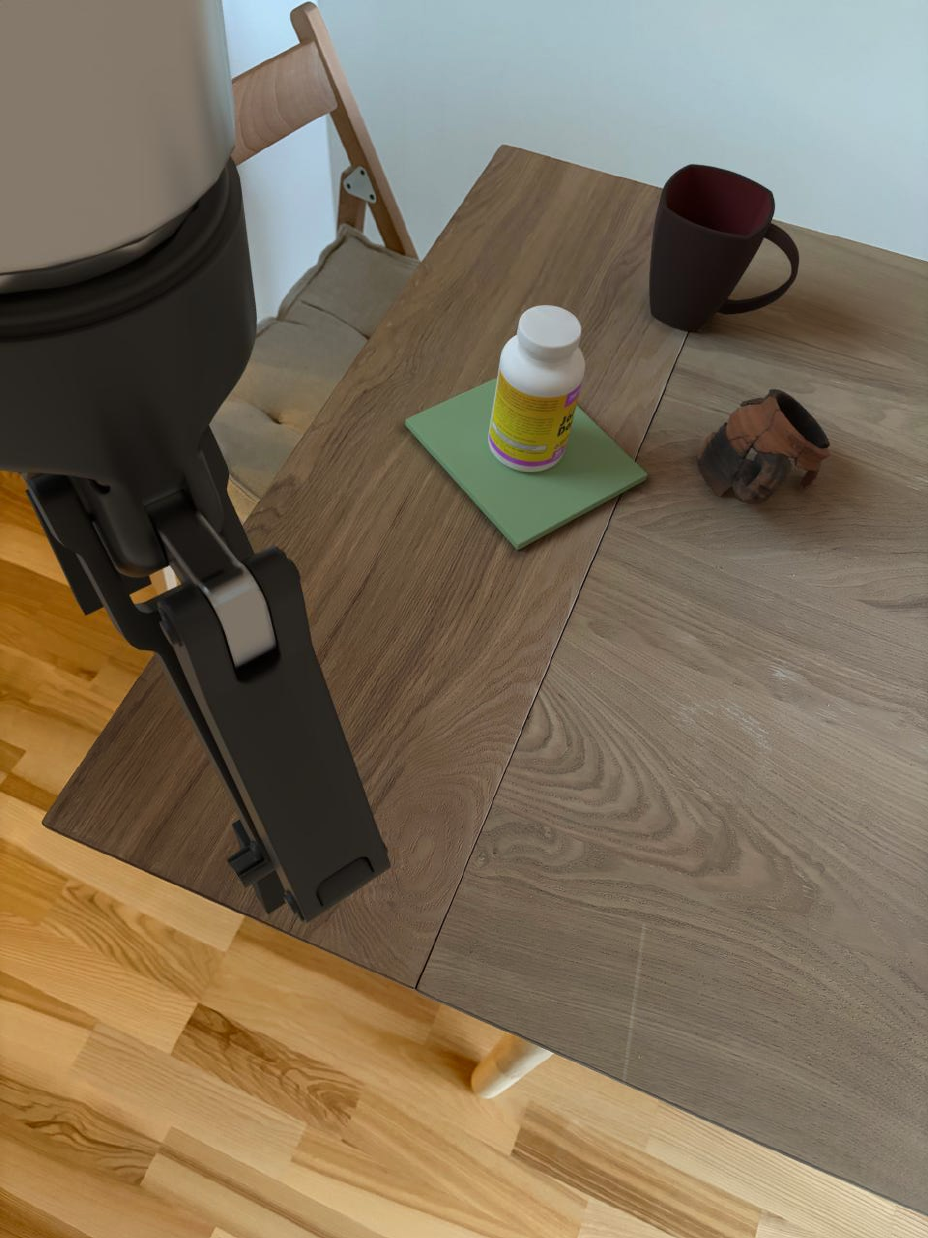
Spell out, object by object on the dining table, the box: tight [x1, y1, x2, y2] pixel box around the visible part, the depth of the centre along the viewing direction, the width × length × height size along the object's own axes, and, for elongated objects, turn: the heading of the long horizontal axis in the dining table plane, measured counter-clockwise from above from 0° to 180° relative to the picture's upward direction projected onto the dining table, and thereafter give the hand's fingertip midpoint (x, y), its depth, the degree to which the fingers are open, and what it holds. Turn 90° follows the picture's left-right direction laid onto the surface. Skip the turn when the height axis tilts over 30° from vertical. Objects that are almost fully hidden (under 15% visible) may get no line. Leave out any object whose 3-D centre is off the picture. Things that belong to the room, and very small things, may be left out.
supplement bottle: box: [488, 304, 586, 472], centre depth 75 cm, size 7×7×13 cm
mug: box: [648, 163, 800, 333], centre depth 88 cm, size 10×14×12 cm
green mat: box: [404, 377, 648, 551], centre depth 81 cm, size 16×14×1 cm
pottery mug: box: [696, 388, 831, 505], centre depth 79 cm, size 12×10×8 cm
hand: (199, 726), depth 34 cm, fingers open, 13 cm apart
